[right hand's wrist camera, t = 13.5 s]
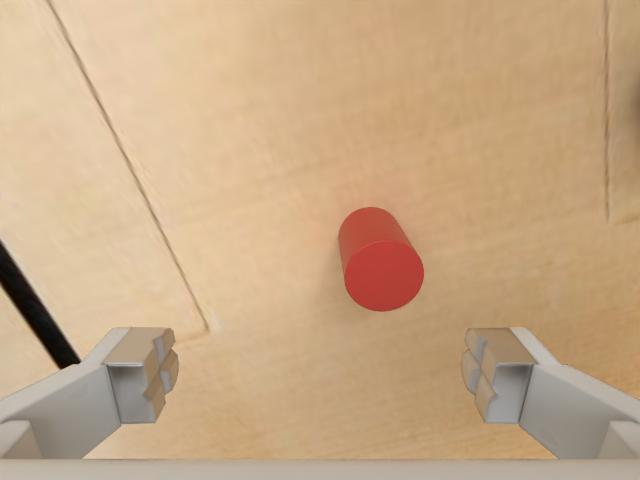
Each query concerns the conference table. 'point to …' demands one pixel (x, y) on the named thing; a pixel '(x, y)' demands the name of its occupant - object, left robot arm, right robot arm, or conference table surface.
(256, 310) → the conference table surface
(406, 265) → the canister
